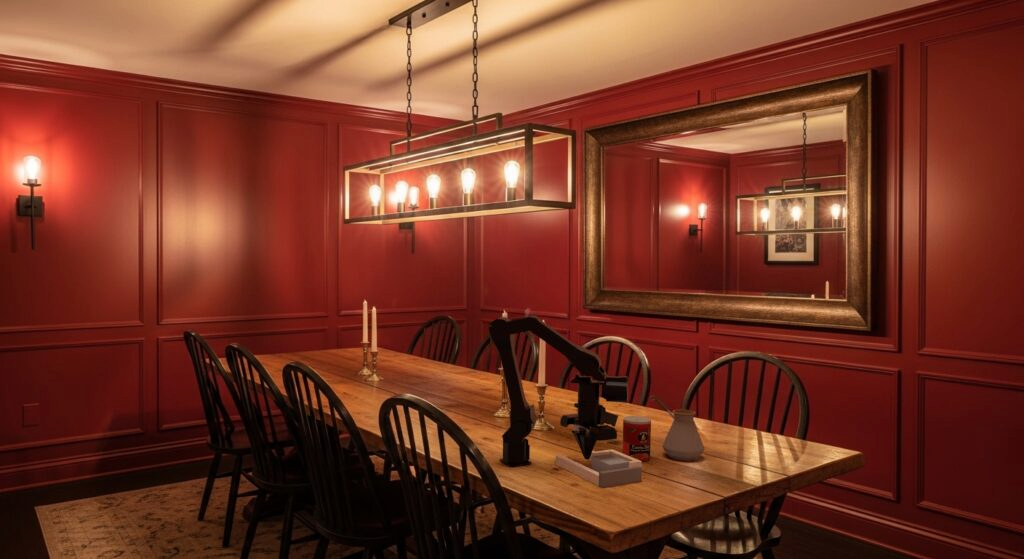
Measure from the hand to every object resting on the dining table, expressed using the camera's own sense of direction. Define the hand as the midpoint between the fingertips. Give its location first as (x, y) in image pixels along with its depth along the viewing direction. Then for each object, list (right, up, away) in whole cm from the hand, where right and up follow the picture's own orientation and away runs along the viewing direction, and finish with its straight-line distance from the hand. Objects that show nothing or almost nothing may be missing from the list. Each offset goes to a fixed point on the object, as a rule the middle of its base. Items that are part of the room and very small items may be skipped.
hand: (587, 459), depth 189 cm
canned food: (+15, -3, +11) cm, 18 cm away
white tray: (+5, -3, -3) cm, 6 cm away
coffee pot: (+26, -3, +17) cm, 31 cm away
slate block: (+5, -3, -8) cm, 10 cm away
